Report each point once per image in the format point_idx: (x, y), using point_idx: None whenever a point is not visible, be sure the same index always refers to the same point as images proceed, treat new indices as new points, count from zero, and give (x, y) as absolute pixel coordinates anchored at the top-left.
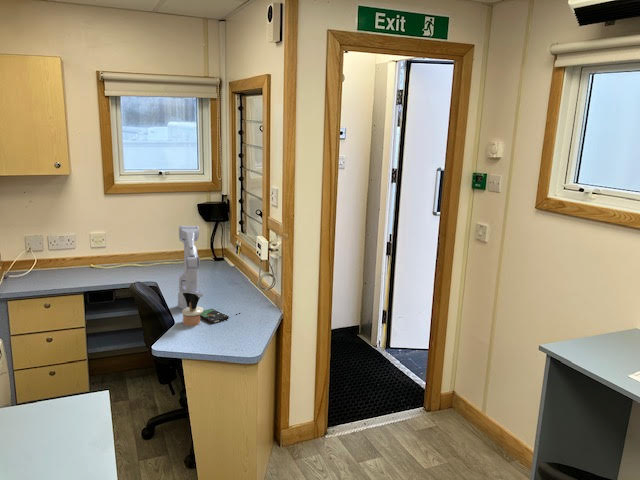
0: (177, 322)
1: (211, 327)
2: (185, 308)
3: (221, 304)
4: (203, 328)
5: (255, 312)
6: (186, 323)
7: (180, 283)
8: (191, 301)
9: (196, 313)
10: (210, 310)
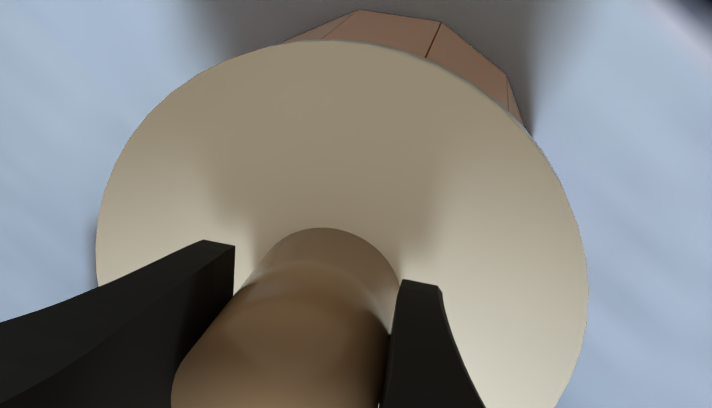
0: (596, 5)
1: (33, 209)
2: (575, 295)
3: None
4: (64, 108)
5: None
6: (340, 20)
7: None
8: (35, 338)
9: (116, 208)
10: None
